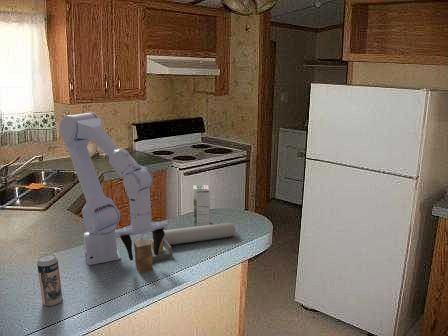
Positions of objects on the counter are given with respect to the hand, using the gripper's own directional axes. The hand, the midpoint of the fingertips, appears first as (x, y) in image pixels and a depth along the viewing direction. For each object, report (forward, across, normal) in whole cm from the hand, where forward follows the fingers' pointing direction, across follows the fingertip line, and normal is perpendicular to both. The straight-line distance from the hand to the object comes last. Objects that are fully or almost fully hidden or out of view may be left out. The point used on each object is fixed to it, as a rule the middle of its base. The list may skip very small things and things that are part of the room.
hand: (143, 256), depth 121 cm
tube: (+4, +21, +12) cm, 24 cm away
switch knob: (+2, +6, +7) cm, 10 cm away
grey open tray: (+4, +6, +10) cm, 12 cm away
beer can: (+4, -25, -7) cm, 26 cm away
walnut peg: (+4, 0, 0) cm, 4 cm away
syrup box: (+4, +27, +24) cm, 36 cm away
